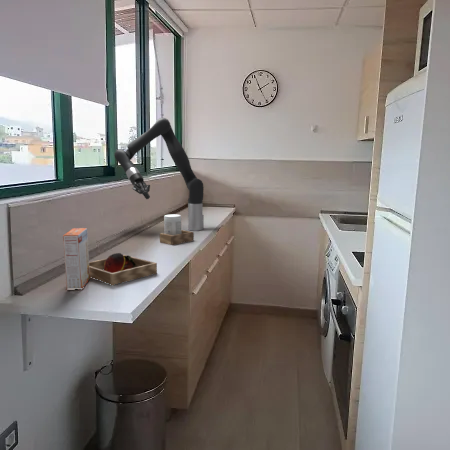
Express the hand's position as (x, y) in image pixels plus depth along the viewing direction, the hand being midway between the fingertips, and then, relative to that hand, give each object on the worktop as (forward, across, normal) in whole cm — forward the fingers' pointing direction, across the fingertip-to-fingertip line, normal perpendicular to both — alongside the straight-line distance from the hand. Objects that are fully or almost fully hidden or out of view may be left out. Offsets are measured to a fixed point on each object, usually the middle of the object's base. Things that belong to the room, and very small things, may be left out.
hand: (148, 198), depth 258 cm
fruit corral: (+54, -63, -21) cm, 85 cm away
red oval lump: (+52, -61, -19) cm, 83 cm away
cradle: (+33, -1, -2) cm, 33 cm away
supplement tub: (+32, -1, 0) cm, 32 cm away
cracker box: (+54, -82, -21) cm, 100 cm away
